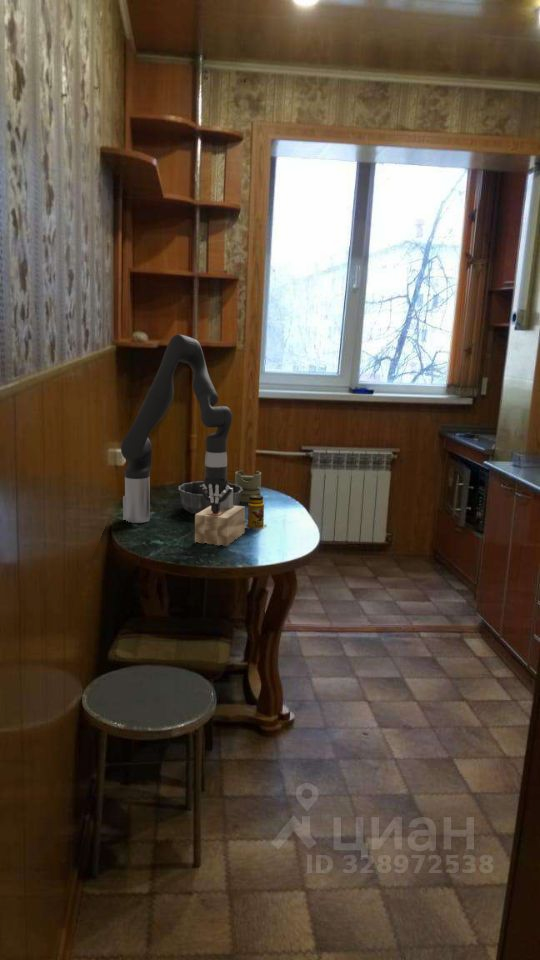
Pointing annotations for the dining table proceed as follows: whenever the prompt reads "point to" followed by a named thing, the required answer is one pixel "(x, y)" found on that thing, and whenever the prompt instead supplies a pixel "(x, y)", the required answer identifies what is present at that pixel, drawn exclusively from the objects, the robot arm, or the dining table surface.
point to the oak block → (220, 526)
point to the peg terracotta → (215, 514)
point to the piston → (248, 484)
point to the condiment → (255, 512)
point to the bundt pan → (195, 499)
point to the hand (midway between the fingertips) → (215, 513)
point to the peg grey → (227, 501)
